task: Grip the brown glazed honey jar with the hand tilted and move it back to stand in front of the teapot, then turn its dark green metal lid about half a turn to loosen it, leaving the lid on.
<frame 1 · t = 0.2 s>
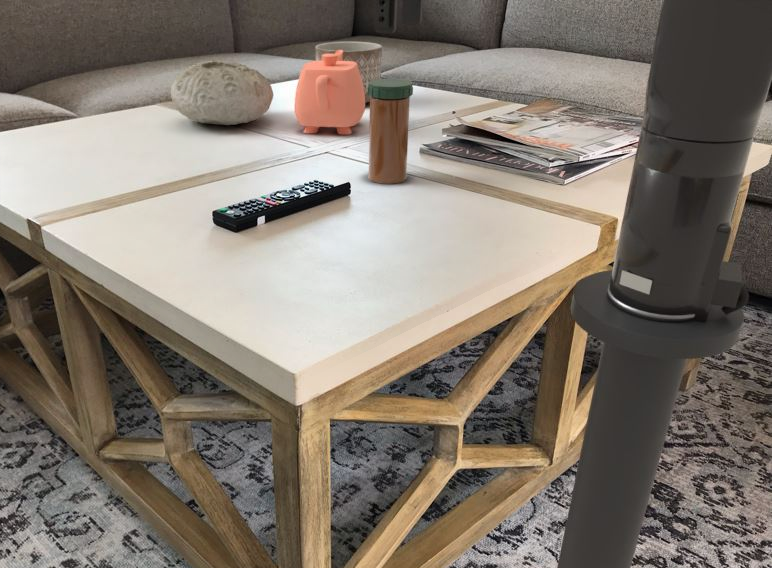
hand: (399, 28, 82), 20 cm above the table, tool pointing down, fingers open, 8 cm apart
jar: (387, 178, 102), on the table
lid: (390, 85, 96), point 12 cm above the table, screwed on, not yet turned
teapot: (330, 128, 128), on the table
grey rounded lump: (224, 123, 131), on the table
planter: (348, 103, 145), on the table
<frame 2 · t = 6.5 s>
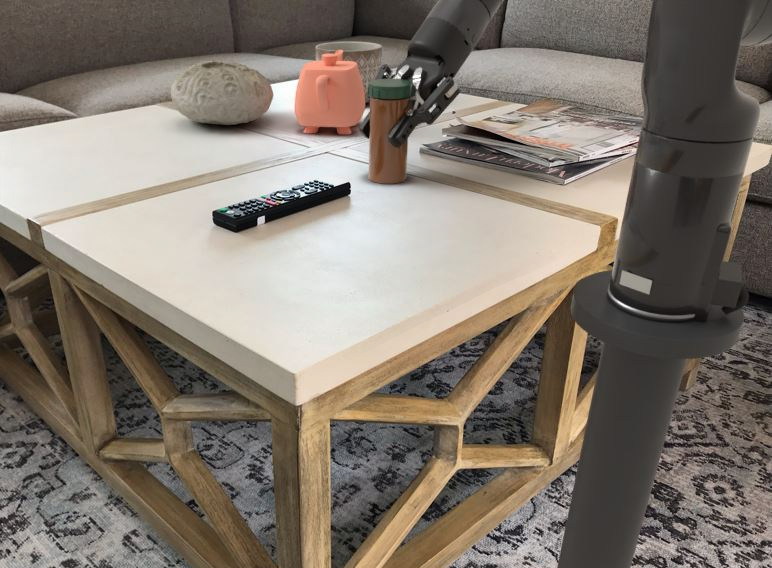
hand: (378, 139, 98), 6 cm above the table, tool tilted 45°, fingers closed on jar, 5 cm apart
jar: (387, 178, 102), on the table, touching gripper
everything else where it was.
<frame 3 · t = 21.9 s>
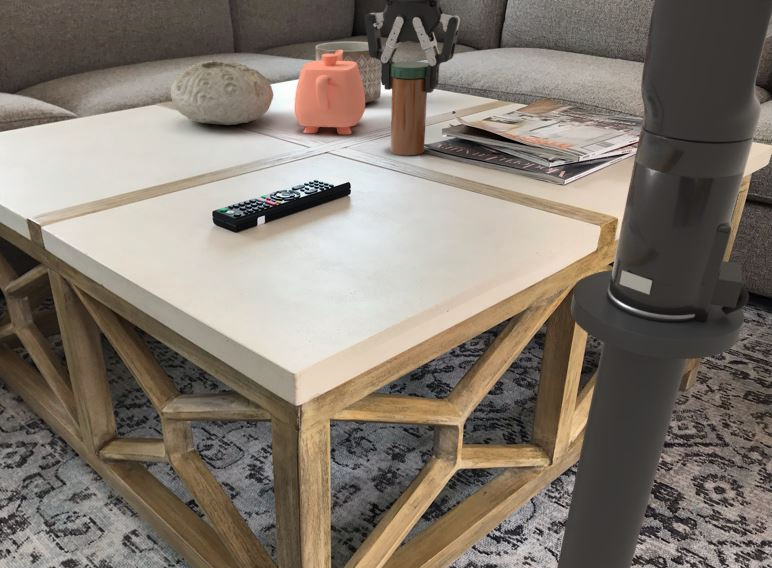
hand: (409, 89, 109), 9 cm above the table, tool pointing down, fingers closed on lid, 5 cm apart
jar: (407, 151, 114), on the table
lid: (410, 67, 108), point 12 cm above the table, screwed on, not yet turned, touching gripper
everything else where it was.
when the fingers open (8 cm above the table, at t = 24.3 s): lid moves 2 cm, point 13 cm above the table.
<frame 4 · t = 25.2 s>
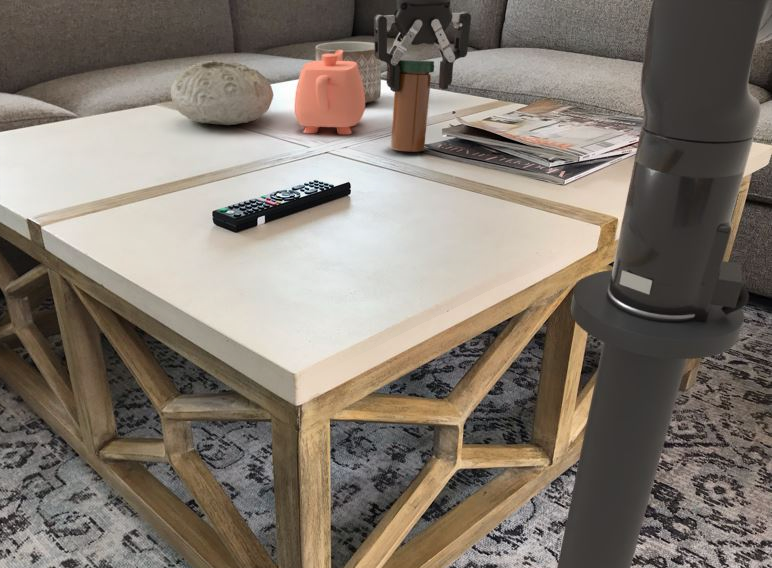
hand: (419, 89, 110), 9 cm above the table, tool pointing down, fingers open, 7 cm apart
jar: (407, 149, 113), on the table, tilted 7°
lid: (414, 63, 109), point 13 cm above the table, tilted 7°, turned 89° so far, risen 0.1 cm, still on its thread
everything else where it was.
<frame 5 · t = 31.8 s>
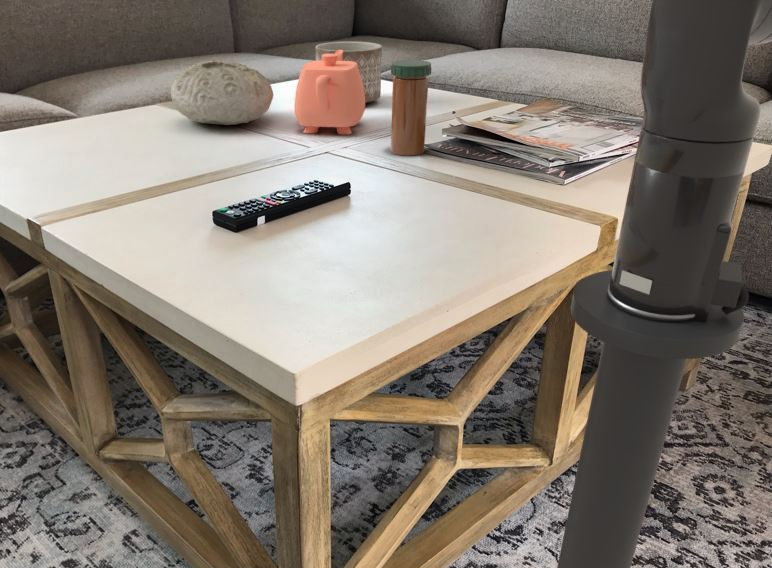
jar: (407, 151, 114), on the table
lid: (411, 65, 107), point 13 cm above the table, turned 179° so far, risen 0.2 cm, still on its thread
everything else where it was.
at the end: lid turned 0.50 turns (still on its thread); lid is still on its thread (0.50 turns); jar inside the target area on the table beside the teapot (0.3 cm from its centre), on the table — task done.
